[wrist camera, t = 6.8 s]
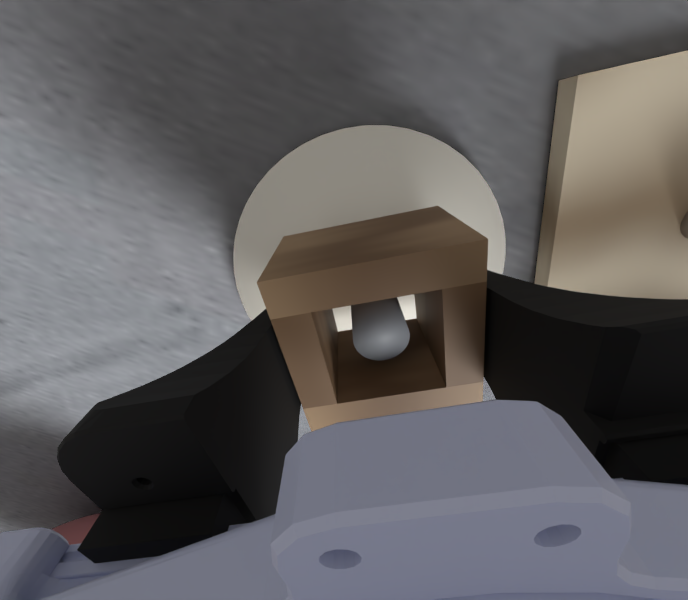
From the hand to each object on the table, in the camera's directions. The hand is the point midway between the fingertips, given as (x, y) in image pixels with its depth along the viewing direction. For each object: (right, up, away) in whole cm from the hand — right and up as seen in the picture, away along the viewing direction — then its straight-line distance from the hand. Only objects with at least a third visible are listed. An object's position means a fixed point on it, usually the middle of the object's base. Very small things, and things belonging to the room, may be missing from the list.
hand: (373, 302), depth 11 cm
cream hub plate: (0, +2, +3) cm, 3 cm away
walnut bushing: (0, +1, 0) cm, 1 cm away
